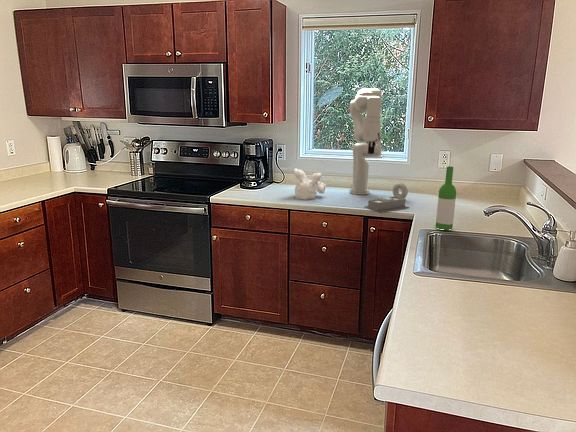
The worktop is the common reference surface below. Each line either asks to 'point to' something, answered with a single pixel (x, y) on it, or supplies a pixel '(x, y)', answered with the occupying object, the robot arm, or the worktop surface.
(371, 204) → the keypad
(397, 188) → the donut
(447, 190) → the wine bottle
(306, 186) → the cream lumpy figurine
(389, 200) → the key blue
